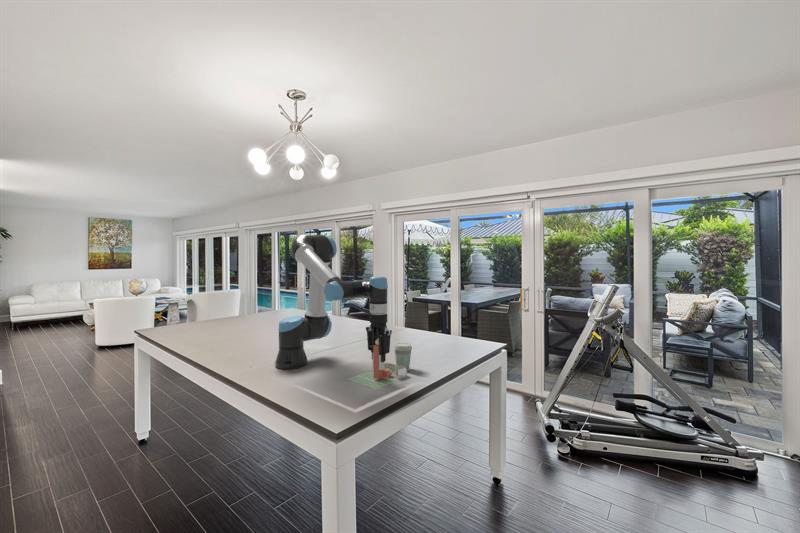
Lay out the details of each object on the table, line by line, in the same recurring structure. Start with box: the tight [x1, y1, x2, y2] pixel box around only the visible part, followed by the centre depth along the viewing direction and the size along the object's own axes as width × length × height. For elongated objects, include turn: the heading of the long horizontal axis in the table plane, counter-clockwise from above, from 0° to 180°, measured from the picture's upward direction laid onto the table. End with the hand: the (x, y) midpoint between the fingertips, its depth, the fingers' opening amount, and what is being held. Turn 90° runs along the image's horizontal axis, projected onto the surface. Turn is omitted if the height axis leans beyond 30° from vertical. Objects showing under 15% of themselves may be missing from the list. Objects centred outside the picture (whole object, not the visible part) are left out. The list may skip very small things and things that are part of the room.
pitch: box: [346, 370, 400, 391], centre depth 148 cm, size 18×14×1 cm
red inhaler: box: [372, 338, 391, 379], centre depth 148 cm, size 7×5×16 cm
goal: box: [385, 361, 408, 380], centre depth 155 cm, size 12×6×5 cm, turn 50°
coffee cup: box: [393, 342, 413, 372], centre depth 165 cm, size 8×8×12 cm
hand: (378, 368), depth 148 cm, fingers closed on red inhaler, 3 cm apart
